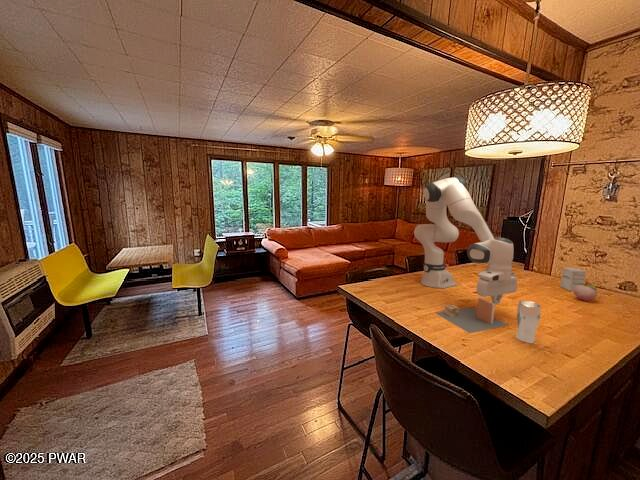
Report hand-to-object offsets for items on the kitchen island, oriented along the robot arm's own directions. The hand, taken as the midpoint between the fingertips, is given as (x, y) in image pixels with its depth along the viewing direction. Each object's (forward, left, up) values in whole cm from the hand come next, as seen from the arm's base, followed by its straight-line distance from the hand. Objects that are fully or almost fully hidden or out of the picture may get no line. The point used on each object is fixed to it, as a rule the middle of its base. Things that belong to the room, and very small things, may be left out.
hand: (495, 303), depth 118 cm
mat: (+11, -3, -8) cm, 14 cm away
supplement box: (-81, -16, -8) cm, 83 cm away
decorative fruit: (-66, -2, -8) cm, 67 cm away
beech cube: (+16, -9, -7) cm, 20 cm away
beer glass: (+5, +17, -8) cm, 19 cm away
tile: (+6, 0, -7) cm, 9 cm away
